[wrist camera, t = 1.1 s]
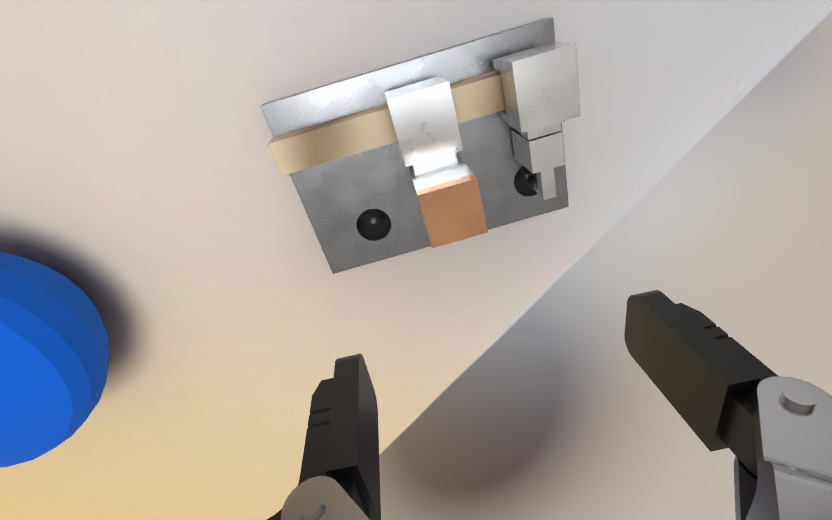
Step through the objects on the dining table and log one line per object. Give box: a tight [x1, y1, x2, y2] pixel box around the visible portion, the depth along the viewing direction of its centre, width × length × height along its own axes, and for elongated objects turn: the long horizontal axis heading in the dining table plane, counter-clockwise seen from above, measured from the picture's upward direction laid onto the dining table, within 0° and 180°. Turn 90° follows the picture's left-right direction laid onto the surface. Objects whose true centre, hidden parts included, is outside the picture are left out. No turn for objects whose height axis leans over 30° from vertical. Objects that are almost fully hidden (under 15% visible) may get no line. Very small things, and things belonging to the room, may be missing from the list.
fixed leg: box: [493, 42, 580, 200], centre depth 30 cm, size 4×11×5 cm, turn 15°
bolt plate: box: [261, 18, 569, 274], centre depth 34 cm, size 22×15×1 cm
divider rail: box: [267, 70, 506, 176], centre depth 30 cm, size 22×2×2 cm, turn 105°
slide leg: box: [384, 76, 488, 248], centre depth 28 cm, size 4×11×10 cm, turn 15°
